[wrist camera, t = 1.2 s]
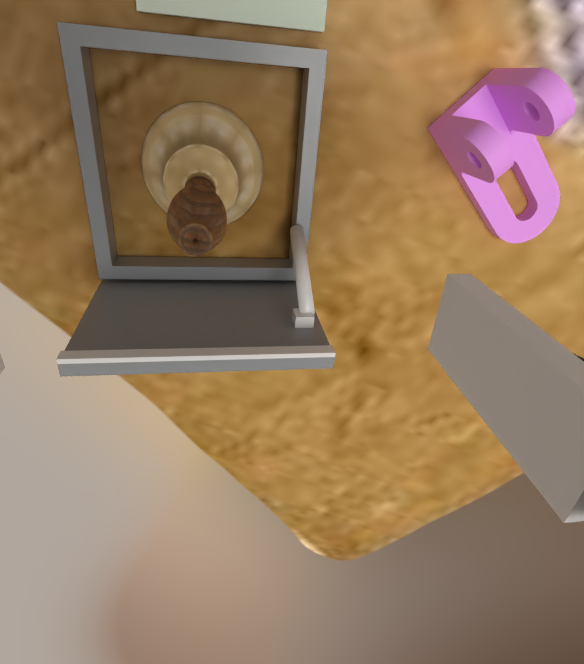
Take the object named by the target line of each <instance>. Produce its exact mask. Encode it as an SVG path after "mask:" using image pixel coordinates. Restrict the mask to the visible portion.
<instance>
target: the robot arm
mask: <svg viewBox="0 0 584 664" xmlns="http://www.w3.org/2000/svg"><path fill="white" fill-rule="evenodd" d="M428 350H429V351H430V353H431V354H432V355H433V356H434V358H435V359H436V360H437V361H438V363H439V364H440V365H441V367H442V368H443V369H444V370H445V372H446V373H447V374H448V376H449V377H450V378H451V379H452V381H453V382H454V383H455V384H456V386H457V387H458V388H459V390H460V391H461V392H462V393H463V395H464V396H465V397H466V399H467V400H468V401H469V402H470V404H471V405H472V406H473V407H474V409H475V410H476V411H477V413H478V414H479V415H480V416H481V418H482V419H483V420H484V422H485V423H486V424H487V425H488V427H489V428H490V429H491V430H492V432H493V433H494V434H495V436H496V437H497V438H498V439H499V441H500V442H501V443H502V445H503V446H504V447H505V448H506V450H507V451H508V452H509V453H510V455H511V456H512V457H513V459H514V460H515V461H516V462H517V464H518V465H519V466H520V468H521V469H522V470H523V471H524V473H525V474H526V475H527V476H528V478H529V479H530V480H531V482H532V483H533V484H534V485H535V487H536V488H537V489H538V491H539V492H540V493H541V494H542V495H543V497H544V498H545V499H546V501H547V502H548V503H549V505H550V506H551V507H552V508H553V509H554V511H555V512H556V514H557V515H558V516H559V517H560V519H561V520H562V521H563V522H564V523H569V522H577V521H584V359H583V358H581V357H579V356H577V355H576V354H574V353H572V352H571V351H569V350H568V349H567V348H565V347H564V346H563V345H562V344H560V343H559V342H558V341H556V340H555V339H554V338H553V337H551V336H550V335H549V334H547V333H546V332H545V331H544V330H542V329H541V328H540V327H538V326H537V325H536V324H534V323H533V322H532V321H531V320H529V319H528V318H527V317H525V316H524V315H523V314H522V313H520V312H519V311H518V310H516V309H515V308H514V307H513V306H511V305H510V304H509V303H507V302H506V301H505V300H504V299H502V298H501V297H500V296H498V295H497V294H496V293H495V292H493V291H492V290H491V289H489V288H488V287H487V286H485V285H484V284H483V283H482V282H480V281H479V280H478V279H476V278H475V277H474V276H473V275H471V274H448V275H447V279H446V283H445V286H444V290H443V294H442V298H441V302H440V305H439V309H438V313H437V317H436V321H435V325H434V328H433V332H432V336H431V340H430V344H429V347H428ZM4 368H5V366H4V364H3V360H2V358H1V355H0V373H1V372H2V371H3V369H4Z"/></svg>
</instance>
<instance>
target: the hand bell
mask: <svg viewBox="0 0 584 664" xmlns="http://www.w3.org/2000/svg"><path fill="white" fill-rule="evenodd" d="M141 166H142V173H143V178H144V181H145V184H146V186H147V188H148V190H149V192H150V194H151V196H152V198H153V199H154V200H155V202H156V203H157V204H158V205H159V206H160V207H161V208H162V209H163V210H164V211H165V212H166V213H167V226H168V229H169V232H170V235H171V237H172V238H173V240H174V241H175V242H176V243H177V244H178V245H179V246H180V247H181V248H182V250H183V251H184V252H185V253H187V254H190V255H195V256H201V255H204V254H205V253H207V252H208V251H210V250H211V249H213V248H214V247H215V246H216V245H218V244H219V243H220V241H221V240H222V238H223V236H224V234H225V231H226V227H227V224H229V223H231V222H233V221H235V220H237V219H239V218H240V217H241V216H243V215H244V214H245V213H246V212H247V211H248V210H249V209H250V207H251V206H252V205H253V203H254V202H255V200H256V198H257V196H258V194H259V191H260V188H261V185H262V180H263V159H262V155H261V151H260V147H259V145H258V143H257V141H256V139H255V137H254V135H253V133H252V132H251V130H250V129H249V128H248V126H247V125H246V124H245V123H244V122H243V121H242V120H241V119H240V118H239V117H238V116H237V115H235V114H234V113H232V112H231V111H229V110H227V109H226V108H224V107H221V106H219V105H216V104H212V103H208V102H187V103H183V104H180V105H176V106H174V107H172V108H170V109H169V110H167V111H166V112H164V113H163V114H162V115H160V116H159V117H158V118H157V120H156V121H155V122H154V123H153V124H152V126H151V127H150V129H149V130H148V132H147V134H146V137H145V139H144V142H143V147H142V153H141Z"/></svg>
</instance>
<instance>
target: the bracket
mask: <svg viewBox="0 0 584 664" xmlns="http://www.w3.org/2000/svg"><path fill="white" fill-rule="evenodd" d="M574 113H575V100H574V97H573V95H572V92H571V91H570V89H569V87H568V86H567V84H566V83H565V82H564V81H563V80H562V79H561V78H560V77H559V76H558V75H557V74H556V73H554V72H552V71H551V70H548V69H545V68H496V69H492V70H491V71H490V72H489V73H488V74H487V75H486V76H485V77H484V78H482V79H481V80H480V81H479V82H478V83H477V84H476V85H475V86H474V87H472V88H471V89H470V90H469V91H468V92H467V93H466V94H465V95H464V96H462V97H461V98H460V99H459V100H458V101H457V102H456V103H455V104H453V105H452V106H451V107H450V108H449V109H448V110H447V111H446V112H445V113H443V114H442V115H441V116H440V117H439V118H438V119H437V120H436V121H435V122H433V123H432V124H431V125H430V126H429V127H428V128H427V129H428V130H429V132H430V134H431V135H432V137H433V139H434V140H435V142H436V144H437V145H438V147H439V149H440V150H441V152H442V153H443V155H444V157H445V158H446V160H447V162H448V163H449V165H450V167H451V168H452V170H453V172H454V173H455V175H456V177H457V178H458V180H459V182H460V183H461V185H462V187H463V188H464V190H465V192H466V193H467V195H468V196H469V198H470V200H471V201H472V203H473V205H474V206H475V208H476V210H477V211H478V213H479V215H480V216H481V218H482V220H483V221H484V223H485V225H486V226H487V228H488V229H489V231H490V232H491V233H492V234H494V235H495V236H497V237H499V238H500V239H502V240H504V241H506V242H509V243H522V242H525V241H528V240H530V239H532V238H534V237H536V236H537V235H539V234H540V233H541V232H542V231H543V230H545V228H546V227H547V226H548V225H549V224H550V223H551V221H552V220H553V218H554V216H555V214H556V212H557V210H558V206H559V202H560V190H559V187H558V184H557V182H556V180H555V178H554V176H553V173H552V171H551V169H550V167H549V165H548V163H547V160H546V158H545V156H544V154H543V152H542V150H541V147H540V145H539V143H538V141H537V139H536V137H535V135H540V136H549V135H551V134H552V133H553V132H555V131H556V130H557V129H558V128H559V127H561V126H562V125H563V124H564V123H565V122H567V121H568V120H569V119H570V118H572V117H573V115H574ZM510 168H512V170H513V172H514V174H515V176H516V177H517V179H518V181H519V183H520V185H521V187H522V189H523V191H524V193H525V195H526V197H527V199H528V204H527V207H526V209H525V210H524V211H523V212H522V213H521V214H520V215H518V216H515V214H514V213H513V211H512V209H511V207H510V205H509V203H508V202H507V200H506V198H505V196H504V194H503V193H502V191H501V189H500V187H499V185H498V183H497V182H496V179H498V178H499V177H500V176H501V175H502V174H504V173H505V172H506V171H507V170H508V169H510Z"/></svg>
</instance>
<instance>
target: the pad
mask: <svg viewBox="0 0 584 664" xmlns="http://www.w3.org/2000/svg"><path fill="white" fill-rule="evenodd" d="M136 8H137V11H138V12H142V13H151V14H160V15H169V16H178V17H186V18H195V19H204V20H213V21H222V22H231V23H240V24H249V25H258V26H267V27H276V28H285V29H294V30H303V31H312V32H321V33H323V32H324V29H325V18H326V8H327V0H136Z"/></svg>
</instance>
